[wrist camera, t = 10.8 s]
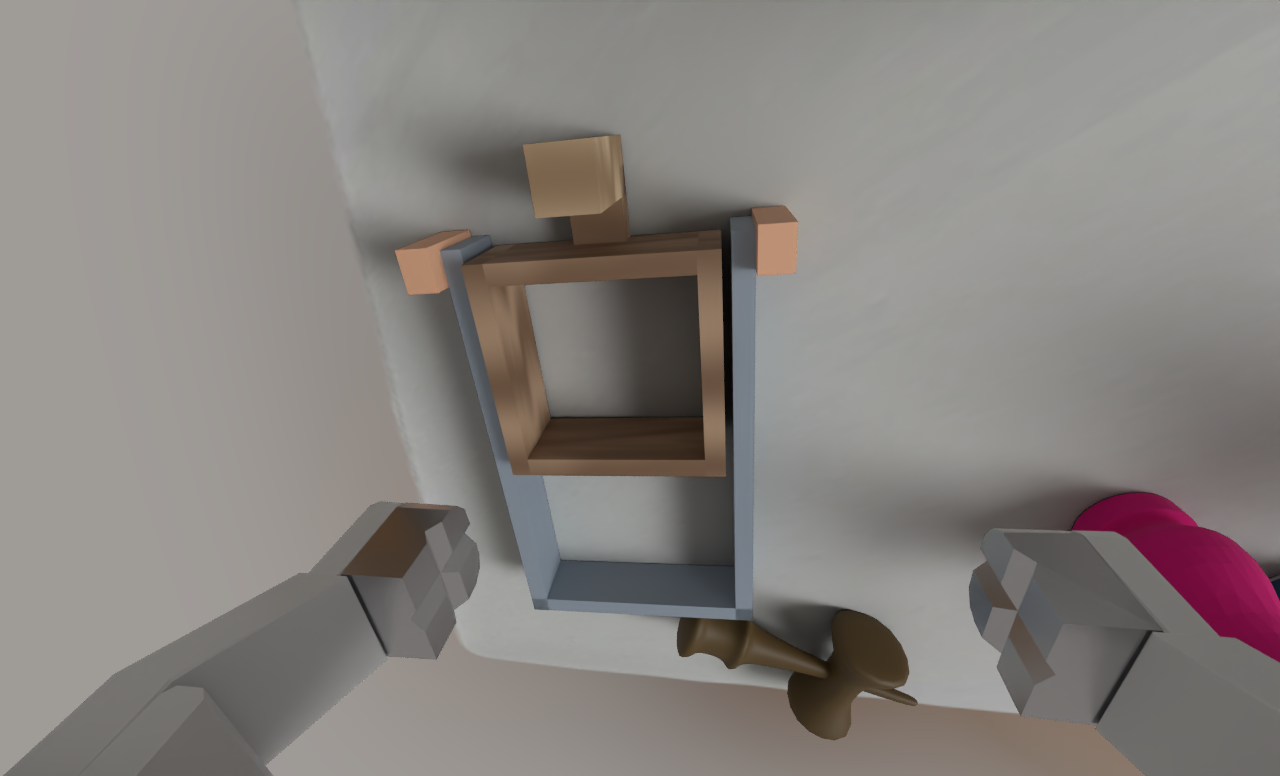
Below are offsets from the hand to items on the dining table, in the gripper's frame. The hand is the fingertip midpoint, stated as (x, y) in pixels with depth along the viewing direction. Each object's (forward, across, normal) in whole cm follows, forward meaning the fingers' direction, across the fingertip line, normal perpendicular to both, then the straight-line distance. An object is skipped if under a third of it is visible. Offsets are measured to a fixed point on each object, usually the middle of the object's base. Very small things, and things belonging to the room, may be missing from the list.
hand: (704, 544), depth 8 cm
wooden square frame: (+24, +7, +4) cm, 25 cm away
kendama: (+24, -6, +33) cm, 42 cm away
